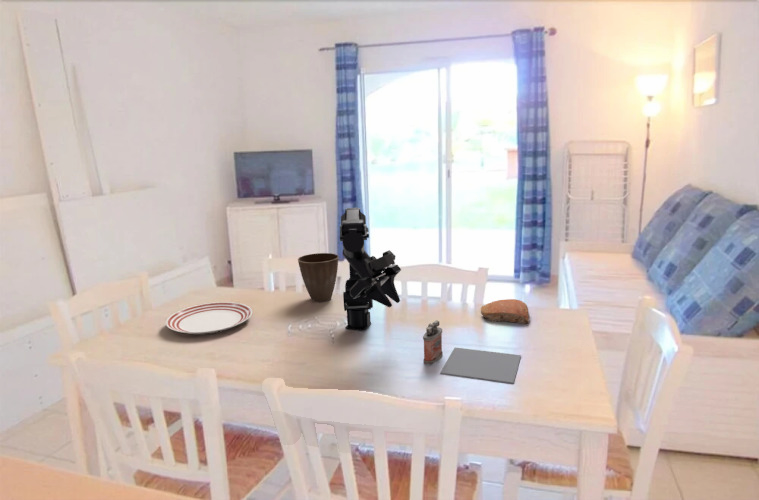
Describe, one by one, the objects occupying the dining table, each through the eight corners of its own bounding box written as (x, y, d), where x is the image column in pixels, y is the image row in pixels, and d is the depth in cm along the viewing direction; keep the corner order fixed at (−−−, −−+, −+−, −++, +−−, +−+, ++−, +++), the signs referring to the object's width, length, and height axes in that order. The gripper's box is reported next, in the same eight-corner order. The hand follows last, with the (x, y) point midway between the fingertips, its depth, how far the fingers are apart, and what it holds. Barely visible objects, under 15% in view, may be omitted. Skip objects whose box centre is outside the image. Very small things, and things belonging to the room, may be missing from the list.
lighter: (432, 365, 132) (431, 329, 130) (420, 363, 134) (419, 327, 132) (445, 354, 139) (444, 319, 137) (434, 351, 141) (433, 317, 139)
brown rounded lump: (482, 292, 174) (527, 300, 171) (479, 311, 175) (524, 318, 172) (482, 301, 160) (531, 309, 157) (479, 320, 161) (527, 329, 158)
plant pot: (293, 303, 186) (290, 261, 183) (312, 291, 200) (309, 252, 196) (330, 306, 181) (327, 263, 178) (347, 294, 195) (344, 253, 191)
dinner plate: (269, 320, 171) (268, 310, 170) (195, 347, 151) (194, 337, 150) (223, 305, 188) (222, 296, 188) (151, 328, 168) (149, 318, 167)
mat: (440, 373, 128) (440, 372, 128) (454, 348, 142) (454, 347, 142) (513, 383, 121) (513, 382, 121) (520, 356, 136) (520, 355, 136)
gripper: (356, 250, 131) (394, 297, 128) (394, 236, 147) (429, 278, 143) (334, 276, 138) (369, 321, 134) (373, 260, 153) (405, 300, 149)
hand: (395, 304), depth 140 cm, fingers open, 4 cm apart
